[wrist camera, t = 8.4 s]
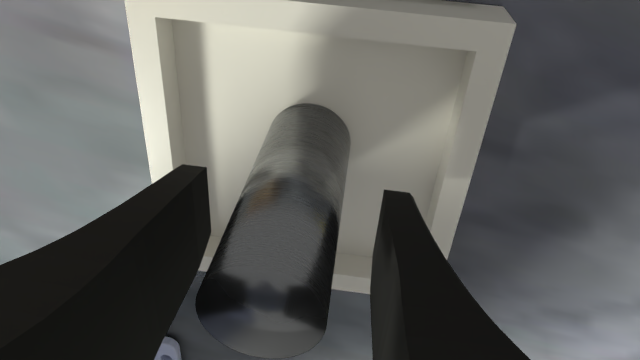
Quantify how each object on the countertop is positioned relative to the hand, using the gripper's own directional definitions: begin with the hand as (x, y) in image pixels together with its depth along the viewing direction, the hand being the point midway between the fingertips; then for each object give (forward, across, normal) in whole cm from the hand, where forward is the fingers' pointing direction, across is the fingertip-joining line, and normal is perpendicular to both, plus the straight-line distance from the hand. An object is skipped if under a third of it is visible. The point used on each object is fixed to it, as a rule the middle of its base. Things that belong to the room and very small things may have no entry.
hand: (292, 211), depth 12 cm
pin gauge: (+3, 0, 0) cm, 3 cm away
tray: (+3, 0, 0) cm, 3 cm away
